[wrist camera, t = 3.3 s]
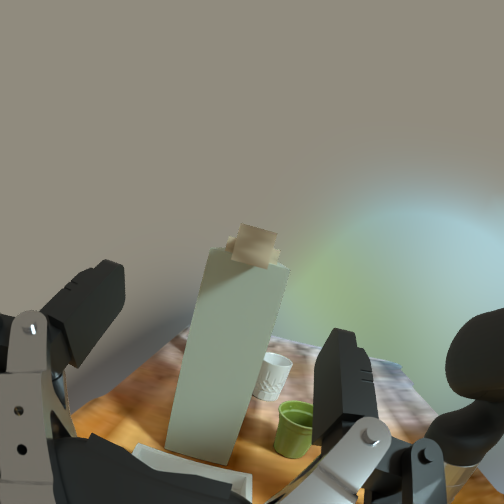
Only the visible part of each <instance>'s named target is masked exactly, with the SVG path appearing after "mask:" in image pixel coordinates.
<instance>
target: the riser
mask: <svg viewBox="0 0 504 504" xmlns="http://www.w3.org/2000/svg"><path fill="white" fill-rule="evenodd" d="M225 249H226V248H210V252H209V256H208V260H207V264H206V267H205V271H204V275H203V279H202V282H201V286H200V290H199V294H198V298H197V302H196V306H195V311H194V314H193V318H192V322H191V326H190V331H189V335H188V339H187V343H186V348H185V352H184V356H183V361H182V365H181V370H180V374H179V379H178V383H177V388H176V392H175V397H174V402H173V407H172V412H171V417H170V422H169V427H168V432H167V437H166V442H165V448H164V449H167V450H170V451H174V452H177V453H180V454H183V455H187V456H190V457H194V458H197V459H201V460H205V461H209V462H213V463H217V464H221V465H225V466H227V464H228V461H229V458H230V456H231V453H232V450H233V448H234V445H235V442H236V439H237V436H238V434H239V431H240V428H241V425H242V422H243V419H244V417H245V414H246V411H247V408H248V405H249V402H250V399H251V396H252V393H253V390H254V387H255V384H256V381H257V378H258V375H259V372H260V369H261V366H262V363H263V360H264V356H265V353H266V350H267V347H268V344H269V341H270V337H271V334H272V331H273V327H274V324H275V321H276V318H277V314H278V311H279V308H280V304H281V301H282V298H283V294H284V291H285V287H286V283H287V280H288V277H289V273H290V269H288V268H287V267H285V266H283V265H282V264H280V263H278V262H277V265H274V264H271V263H269V265H268V269H267V270H266V269H263V268H259V267H256V266H252V265H248V264H245V263H241V262H238V261H234V260H231V257H232V253H231V252H227V251H225Z"/></svg>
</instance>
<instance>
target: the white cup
mask: <svg viewBox="0 0 504 504" xmlns="http://www.w3.org/2000/svg"><path fill="white" fill-rule="evenodd" d="M292 364H293V363H292V361H291V360H289V359H288V358H286V357H284V356H282V355H279V354H275V353H269V352H266V353H265V356H264V360H263V363H262V366H261V369H260V372H259V375H258V378H257V381H256V384H255V387H254V390H253V393H252V394H253V395H254V396H255V397H257V398H259V399H261V400H264V401H275V400H276V399H278V397H279V394H280V392H281V390H282V388H283V386H284V384H285V382H286V379H287V377H288V374H289V372H290V369H291V367H292Z"/></svg>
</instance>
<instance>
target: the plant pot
mask: <svg viewBox="0 0 504 504" xmlns="http://www.w3.org/2000/svg"><path fill="white" fill-rule="evenodd" d="M278 410H279V424H278V429H277V433H276V437H275V441H274V449H275V450H276V452H278V453H281V454H282V455H283V456H284V457H287V458H293V459H294V458H300V457H302V456H303V455H304V454H305V453H306V452H307V451H308V449H309V448H310V446H311V441H312V423H313V405H312V404H309V403H306V402H301V401H286V402H283V403H281V404H280V406H279V409H278Z"/></svg>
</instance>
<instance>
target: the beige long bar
mask: <svg viewBox="0 0 504 504" xmlns="http://www.w3.org/2000/svg"><path fill="white" fill-rule="evenodd" d="M276 236H277V233H274V232H271V231H267V230H264V229H260V228H257V227H253V226H249V225H245V224H242V223H241V224H240V228H239V232H238V235H237V238H234V237H231V236H229V238H228V242H227V245H226V249H225V251H227V252H231V253H232V257H231V260H234V261H238V262H241V263H245V264H248V265H252V266H256V267H259V268H263V269H266V270H267V269H268V265H269V263H271V264H274V265H277V262H278V259H279V255H280V251H281V250H278V249H274V248H273V247H274V243H275V239H276Z"/></svg>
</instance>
